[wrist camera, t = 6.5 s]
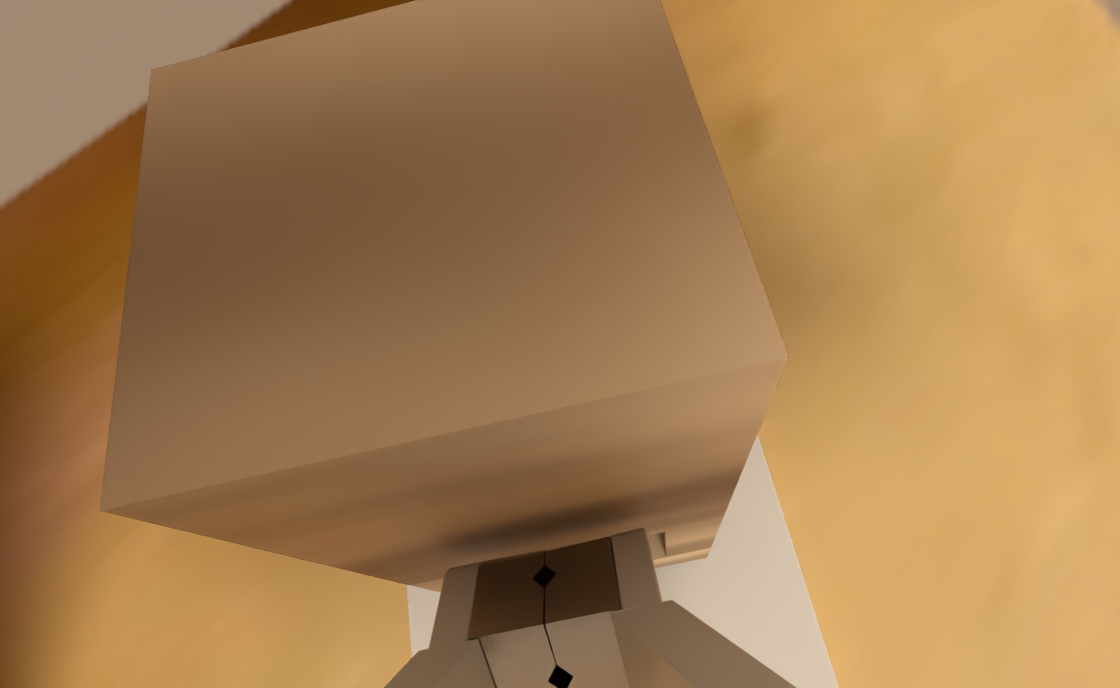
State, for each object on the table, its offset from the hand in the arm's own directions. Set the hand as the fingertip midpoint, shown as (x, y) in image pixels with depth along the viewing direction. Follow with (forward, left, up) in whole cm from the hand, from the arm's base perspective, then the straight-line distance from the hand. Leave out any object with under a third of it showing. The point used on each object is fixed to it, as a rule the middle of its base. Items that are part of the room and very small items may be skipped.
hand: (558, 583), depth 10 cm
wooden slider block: (0, +3, -7) cm, 8 cm away
